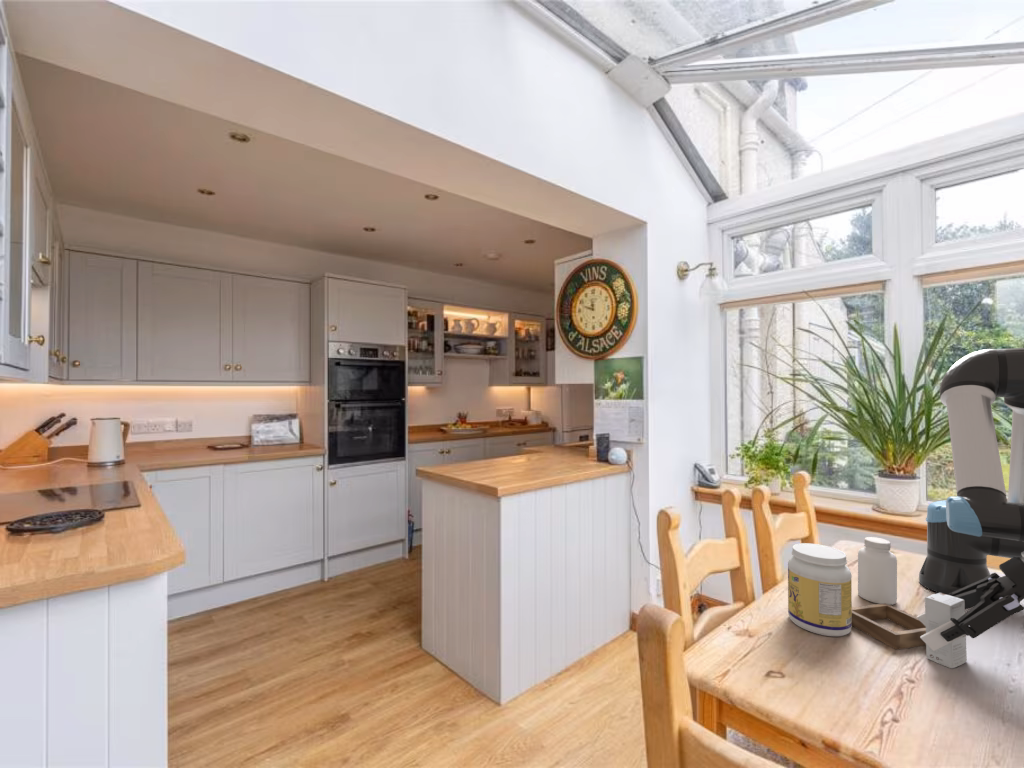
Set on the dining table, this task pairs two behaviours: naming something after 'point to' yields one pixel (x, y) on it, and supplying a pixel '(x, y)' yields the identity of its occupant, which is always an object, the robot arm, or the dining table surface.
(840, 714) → the dining table surface
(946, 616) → the skincare box
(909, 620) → the holder
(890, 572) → the pill bottle
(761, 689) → the dining table surface
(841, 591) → the supplement tub
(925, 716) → the dining table surface
